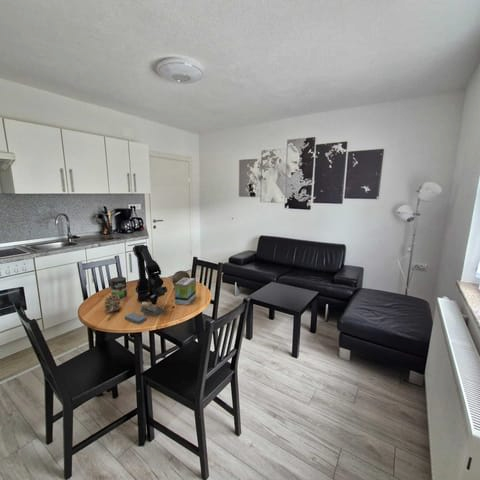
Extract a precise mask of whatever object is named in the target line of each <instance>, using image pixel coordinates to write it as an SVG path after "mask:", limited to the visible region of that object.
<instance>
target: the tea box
mask: <svg viewBox="0 0 480 480" xmlns="http://www.w3.org/2000/svg"><path fill="white" fill-rule="evenodd" d="M196 279H197V278H195V277H190V278H182V279H181V280H179V281H178V282H177V283H175V286H174V304H175V305H185V306H188V305H189V304H190V303H192V302H193V300H194V299H195V298H196V296H197V293H196V292H197V284H196V283H197V281H196Z"/></svg>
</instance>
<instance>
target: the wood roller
mask: <svg viewBox="0 0 480 480" xmlns="http://www.w3.org/2000/svg"><path fill="white" fill-rule="evenodd" d="M158 306H159V305H157V304H156V305H154V304H152V303H151V302H148V301H144V302H142V303H141V305H140V307H141V308H144V309H147V310H150V311H154V312H156V311H157V310H158Z"/></svg>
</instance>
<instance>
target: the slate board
mask: <svg viewBox="0 0 480 480" xmlns="http://www.w3.org/2000/svg"><path fill="white" fill-rule="evenodd" d="M157 306H158V310H157V311H156V312H154V311H150V310H147V309H144V308H142V307H141V308H139V310H140V313H143V314H145V315H148V316H152V317H156V316H158V315H159V314H161V313H163V312H164V311H165V308H164V307H161V306H159V305H157ZM145 315H142V314H138V313H136V312H131V313H128V314H127V315H124V320H125V321H128V322H131V323H134V324H137V325H141V324H142V323H144V322H147V321H148V318H147V316H145Z"/></svg>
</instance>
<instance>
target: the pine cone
mask: <svg viewBox="0 0 480 480" xmlns="http://www.w3.org/2000/svg"><path fill="white" fill-rule="evenodd" d="M119 298H120V297H119V295H118V296H117V294H114V295H113V294H112V295H111V294H110V295H108V296H107V297H106V298H105V301H104V308H105V310H106V312H105V313H106V314H110V313H113V312H116V311H117V310H118V309H119V308H120V306H121V301H122V300H121V299H119Z"/></svg>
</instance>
